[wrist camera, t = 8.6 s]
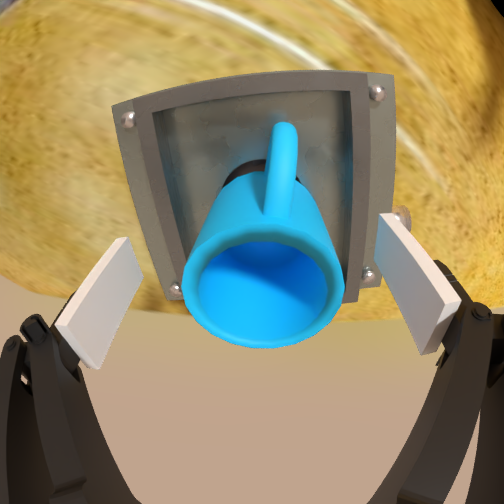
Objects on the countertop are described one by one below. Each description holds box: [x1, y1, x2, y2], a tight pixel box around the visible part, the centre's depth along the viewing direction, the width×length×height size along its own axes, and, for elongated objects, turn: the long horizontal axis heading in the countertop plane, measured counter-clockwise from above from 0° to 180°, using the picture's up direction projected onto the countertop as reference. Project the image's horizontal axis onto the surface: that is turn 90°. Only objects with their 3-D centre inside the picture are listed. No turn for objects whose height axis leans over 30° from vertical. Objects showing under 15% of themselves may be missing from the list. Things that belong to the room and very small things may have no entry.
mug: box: [181, 122, 345, 348], centre depth 16 cm, size 12×8×8 cm
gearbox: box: [111, 70, 411, 312], centre depth 21 cm, size 23×18×8 cm
